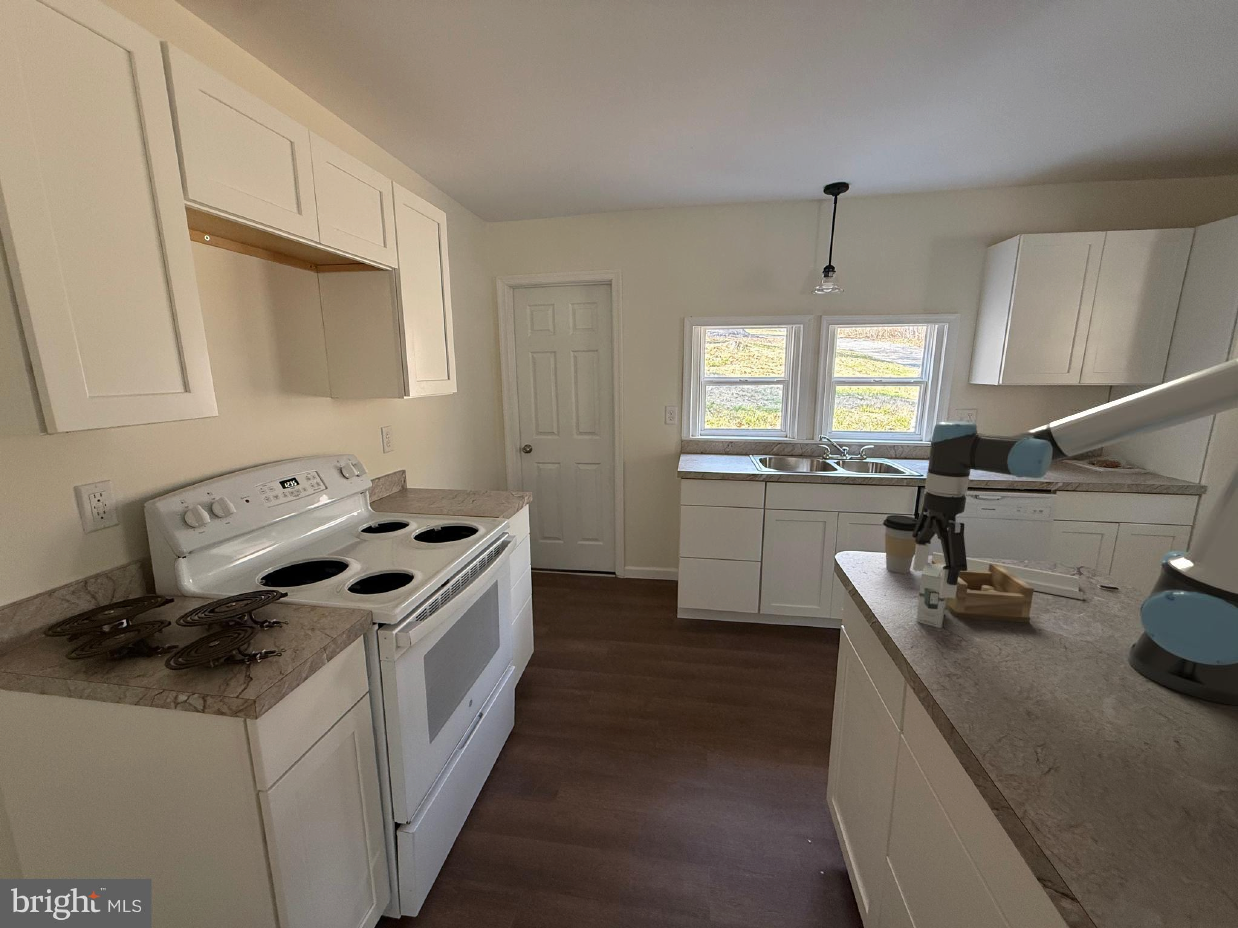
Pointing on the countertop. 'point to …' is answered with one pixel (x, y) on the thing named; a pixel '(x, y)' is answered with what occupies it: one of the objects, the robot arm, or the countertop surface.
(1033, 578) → the crown molding
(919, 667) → the countertop surface
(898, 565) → the coffee cup
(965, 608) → the open wooden box
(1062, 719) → the countertop surface
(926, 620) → the ink box
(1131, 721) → the countertop surface
